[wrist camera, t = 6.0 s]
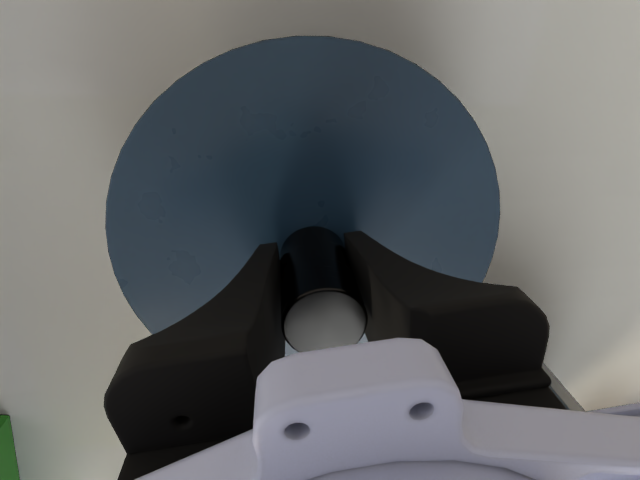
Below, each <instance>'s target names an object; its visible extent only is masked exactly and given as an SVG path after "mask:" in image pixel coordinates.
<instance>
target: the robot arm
mask: <svg viewBox="0 0 640 480" xmlns="http://www.w3.org/2000/svg"><path fill="white" fill-rule="evenodd" d="M344 241H345V250H346V253H347V256H348V259H349V262H350V265H351V267H352V270H353V273H354V276H355V279H356V281H357V284H358V287H359V290H360V293H361V296H362V299H363V302H364V305H365V307H366V311H367V315H368V323H367V327H366V330H365V335H366V337H367V340H368V342H366V343H359V344H353V345H346V346H340V347H333V348H326V349H320V350H313V351H307V352H300V353H294V354H291V355H289V356H286V357H285V341H286V340H285V338H284V336H283V334H282V330H281V289H280V257H279V251H278V245H277V242H274V243H267V244H260V245H259V246H258V247H257V249H256V250H255V251H254V253H253V254H252V256H251V257H250V258H249V260H248V261H247V262H246V264H245V265H244V266H243V268H242V269H241V270H240V271H239V273H238V274H237V275H236V276H235V277H234V278H233V279H232V280H231V281H230V283H229V284H228V285H227V286H226V287H225V288H224V289H222V290H221V291H220V292H219V293H218V294H217V295H216V296H214V297H213V298H212V299H211V300H210V301H208V302H207V303H206V304H204V305H203V306H201V307H200V308H199V309H197V310H196V311H194V312H193V313H191V314H190V315H188V316H187V317H185V318H183V319H182V320H180V321H178V322H177V323H175V324H173V325H171V326H169V327H168V328H166V329H164V330H162V331H160V332H157V333H155V334H153V335H151V336H149V337H146V338H144V339H142V340H140V341H138V342H135V343H133V344H131V345H130V346H129V348H128V350H127V351H126V353H125V355H124V356H123V358H122V360H121V362H120V364H119V366H118V368H117V371H116V373H115V375H114V377H113V379H112V381H111V383H110V385H109V387H108V389H107V391H106V393H105V397H104V408H105V411H106V415H107V418H108V419H109V421H110V423H111V425H112V427H113V429H114V431H115V432H116V434H117V436H118V438H119V440H120V442H121V444H122V445H123V447H124V449H125V451H126V453H127V455H126V458H125V461H124V464H123V466H122V469H121V472H120V474H119V477H118V480H640V403H634V404H628V405H622V406H616V407H610V408H604V409H598V410H592V411H586V412H583V411H573V410H567V409H566V408H565V406H564V405H563V404H562V403H561V401H560V400H559V399H558V398H557V396H556V395H555V394H554V393H553V391H552V390H551V389H550V388H549V387H548V386H551V383H552V382H551V378H550V377H549V376H548V374H547V373H546V372H545V371H544V370H543V368H542V364H543V360H544V355H545V351H546V347H547V342H548V338H549V323H548V320H547V317H546V315H545V314H544V313H543V312H542V310H541V309H540V308H539V307H538V306H537V305H536V304H535V303H534V302H533V301H532V300H531V299H530V298H529V297H528V296H527V295H526V294H525V293H524V292H523V291H521V290H520V289H519V288H518V287H513V286H504V285H495V284H486V283H480V282H475V281H470V280H465V279H461V278H457V277H453V276H449V275H446V274H443V273H439V272H436V271H433V270H430V269H428V268H425V267H423V266H421V265H418V264H416V263H413V262H411V261H409V260H407V259H405V258H403V257H402V256H400V255H398V254H396V253H394V252H393V251H391V250H389V249H388V248H386V247H385V246H383V245H381V244H380V243H378V242H377V241H375V240H374V239H373V238H371V237H370V236H368V235H367V234H365V233H364V232H362V231H354V232H347V233H344Z"/></svg>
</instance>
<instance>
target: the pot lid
mask: <svg viewBox="0 0 640 480" xmlns="http://www.w3.org/2000/svg"><path fill="white" fill-rule="evenodd" d="M499 220H500V195H499V186H498V181H497V175H496V170H495V166H494V163H493V160H492V157H491V154H490V151H489V148H488V145H487V143H486V141H485V139H484V137H483V135H482V133H481V132H480V130H479V128H478V126H477V124H476V122H475V121H474V119H473V118H472V117H471V115H470V114H469V112H468V111H467V110H466V108H465V107H464V106H463V104H462V103H461V102H460V100H459V99H458V98H457V97H456V96H455V95H454V94H452V93H451V92H450V91H449V90H448V89H447V88H446V87H445V86H444V85H443V84H442V83H441V82H440V81H439V80H438V79H436V78H435V77H433V76H432V75H431V74H429V73H428V72H426V71H425V70H424V69H422V68H421V67H419V66H418V65H417V64H415V63H413V62H411V61H409V60H407V59H405V58H403V57H401V56H399V55H397V54H395V53H393V52H391V51H389V50H385V49H382V48H379V47H376V46H373V45H370V44H367V43H364V42H361V41H355V40H349V39H343V38H337V37H331V36H290V37H283V38H276V39H268V40H262V41H259V42H256V43H252V44H249V45H245V46H242V47H239V48H235V49H232V50H230V51H228V52H225V53H223V54H221V55H219V56H217V57H215V58H213V59H210V60H208V61H206V62H204V63H202V64H201V65H199V66H198V67H196V68H195V69H193V70H192V71H190V72H189V73H187V74H186V75H184V76H183V77H181V78H180V79H178V80H177V81H175V82H174V83H173V84H172V85H171V86H170V87H169V88H168V89H167V90H166V91H164V92H163V93H162V94H161V95H160V96H159V97H158V98H157V99H156V100H155V101H154V102H153V103H152V104H151V105H150V107H149V108H148V109H147V110H146V112H145V113H144V114H143V115H142V117H141V118H140V119H139V120H138V122H137V123H136V124H135V126H134V127H133V129H132V131H131V133H130V135H129V136H128V138H127V140H126V142H125V143H124V145H123V147H122V149H121V151H120V154H119V156H118V159H117V162H116V164H115V167H114V170H113V173H112V175H111V180H110V185H109V190H108V195H107V200H106V224H105V228H106V236H107V244H108V252H109V256H110V259H111V263H112V266H113V270H114V274H115V276H116V279H117V281H118V283H119V285H120V288H121V290H122V292H123V294H124V296H125V298H126V300H127V301H128V303H129V304H130V306H131V308H132V309H133V311H134V312H135V314H136V315H137V317H138V318H139V319H140V320H141V322H142V323H143V324H144V325H145V326H146V328H147V329H148V330H149V331H150V332H151V333H152V334H155V333H157V332H160V331H162V330H164V329H166V328H168V327H169V326H171V325H173V324H175V323H177V322H178V321H180V320H182V319H183V318H185V317H187V316H188V315H190V314H191V313H193V312H194V311H196V310H197V309H199V308H200V307H201V306H203V305H204V304H206V303H207V302H208V301H210V300H211V299H212V298H213V297H214V296H216V295H217V294H218V293H219V292H220V291H221V290H222V289H224V288H225V287H226V286H227V285H228V284H229V283H230V281H231V280H232V279H233V278H234V277H235V276H236V275H237V274H238V273H239V271H240V270H241V269H242V268H243V266H244V265H245V264H246V262H247V261H248V260H249V258H250V257H251V256H252V254H253V253H254V251H255V250H256V249H257V247H258V246H259V245H260V244H267V243H274V242H277V245H278V251H279V257H280V289H281V330H282V334H283V336H284V338H285V340H286V341H285V357H286V356H289V355H291V354H294V353H300V352H307V351H313V350H320V349H326V348H333V347H340V346H346V345H353V344H359V343H366V342H368V340H367V337H366V335H365V330H366V327H367V323H368V315H367V311H366V307H365V305H364V302H363V299H362V296H361V293H360V290H359V287H358V284H357V281H356V279H355V276H354V273H353V270H352V267H351V265H350V262H349V259H348V256H347V253H346V250H345V241H344V233H347V232H354V231H362V232H364V233H365V234H367V235H368V236H370V237H371V238H373V239H374V240H375V241H377V242H378V243H380V244H381V245H383V246H385V247H386V248H388V249H389V250H391V251H393V252H394V253H396V254H398V255H400V256H402V257H403V258H405V259H407V260H409V261H411V262H413V263H416V264H418V265H421V266H423V267H425V268H428V269H430V270H433V271H436V272H439V273H443V274H446V275H449V276H453V277H457V278H461V279H465V280H470V281H475V282H480V283H482V282H483V280H484V278H485V276H486V273H487V270H488V268H489V265H490V263H491V260H492V258H493V254H494V249H495V245H496V241H497V237H498V229H499Z"/></svg>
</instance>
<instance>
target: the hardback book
mask: <svg viewBox="0 0 640 480" xmlns="http://www.w3.org/2000/svg"><path fill="white" fill-rule="evenodd" d="M0 480H20V479H19V473H18V466H17V460H16V454H15V448H14V441H13V435H12V429H11V423H10V416H7V415H0Z"/></svg>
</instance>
